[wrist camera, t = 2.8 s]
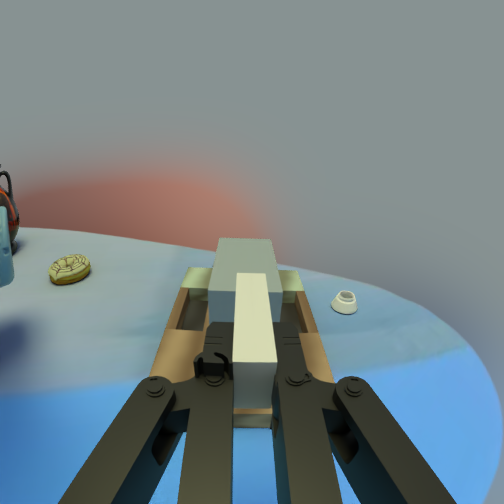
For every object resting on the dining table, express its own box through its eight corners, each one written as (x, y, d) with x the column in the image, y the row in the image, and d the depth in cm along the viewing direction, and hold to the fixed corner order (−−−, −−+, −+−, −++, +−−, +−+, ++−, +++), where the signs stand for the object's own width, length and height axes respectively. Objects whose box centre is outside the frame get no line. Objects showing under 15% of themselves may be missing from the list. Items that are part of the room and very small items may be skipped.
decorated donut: (47, 274, 56) (44, 260, 55) (85, 262, 63) (82, 248, 62) (54, 291, 50) (50, 276, 48) (96, 277, 57) (93, 262, 55)
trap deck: (145, 419, 27) (140, 404, 26) (189, 280, 58) (188, 267, 57) (335, 422, 28) (342, 408, 27) (295, 283, 59) (297, 270, 58)
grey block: (213, 398, 28) (207, 290, 23) (220, 332, 39) (219, 237, 34) (269, 399, 28) (283, 292, 23) (263, 333, 39) (270, 239, 34)
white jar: (351, 318, 48) (359, 306, 52) (355, 305, 47) (362, 293, 51) (326, 310, 51) (336, 298, 55) (329, 296, 50) (338, 285, 53)
